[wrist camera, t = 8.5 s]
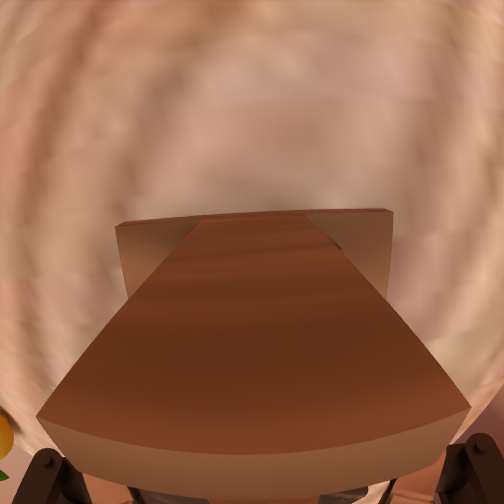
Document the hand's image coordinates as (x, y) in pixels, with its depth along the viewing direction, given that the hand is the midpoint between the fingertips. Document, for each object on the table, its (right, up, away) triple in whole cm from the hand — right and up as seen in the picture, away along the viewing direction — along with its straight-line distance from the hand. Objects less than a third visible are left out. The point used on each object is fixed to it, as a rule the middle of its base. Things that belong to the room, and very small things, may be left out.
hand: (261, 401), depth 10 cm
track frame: (0, +1, +4) cm, 4 cm away
